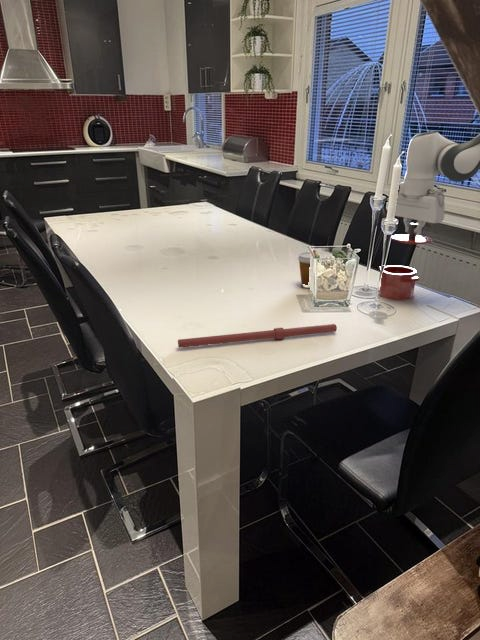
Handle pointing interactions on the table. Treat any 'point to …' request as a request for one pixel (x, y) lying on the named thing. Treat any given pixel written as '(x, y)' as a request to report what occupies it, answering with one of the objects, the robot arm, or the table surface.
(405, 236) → the lid
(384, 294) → the red cooking pot
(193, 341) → the dark red rod
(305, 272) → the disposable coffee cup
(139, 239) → the table surface
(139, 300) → the table surface
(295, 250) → the table surface
